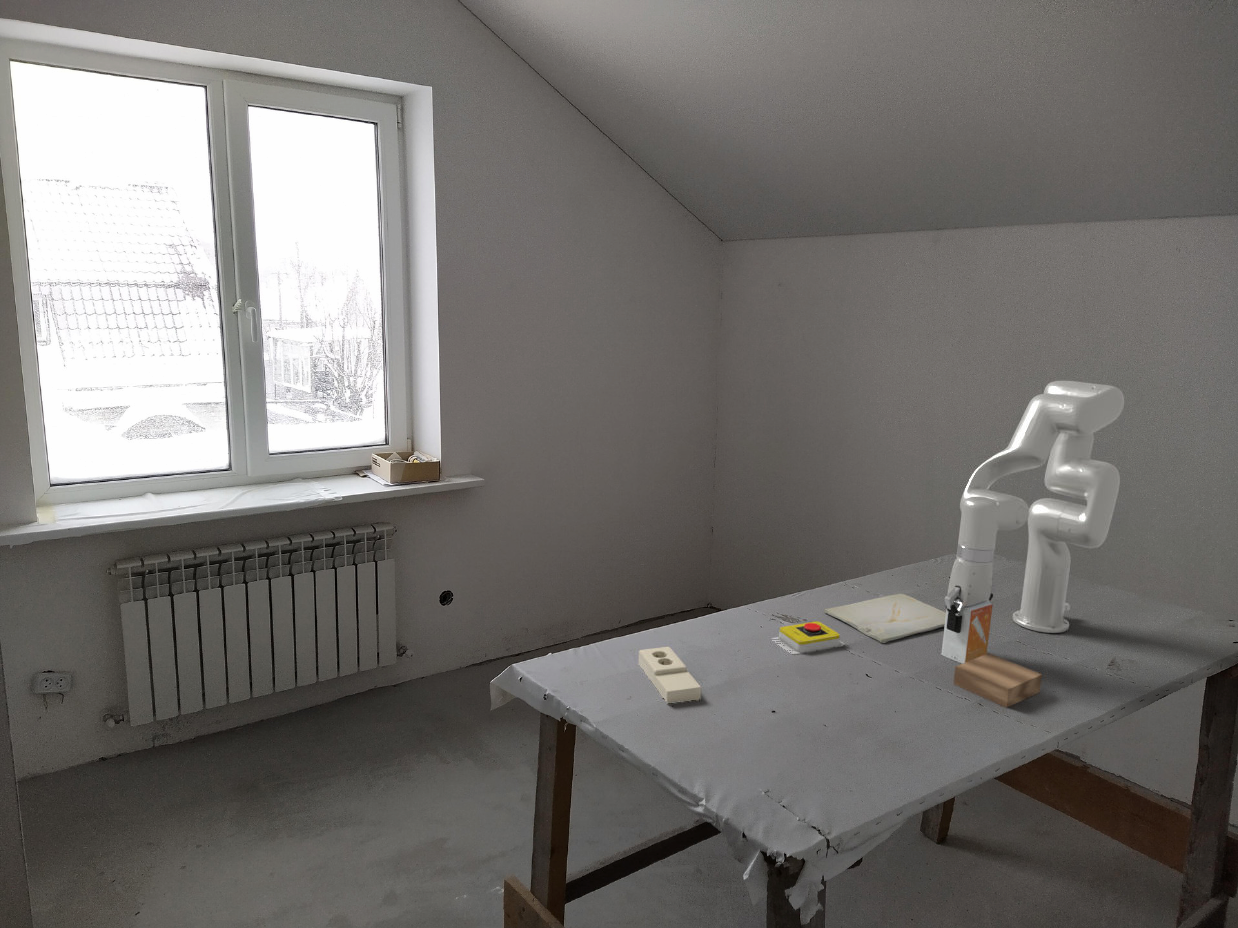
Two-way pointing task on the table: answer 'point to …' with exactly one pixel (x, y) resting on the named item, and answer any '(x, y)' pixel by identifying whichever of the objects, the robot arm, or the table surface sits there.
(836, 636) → the emergency button
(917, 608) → the decorative slab
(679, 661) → the electrical outlet
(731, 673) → the table surface
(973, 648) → the small box
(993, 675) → the walnut base
